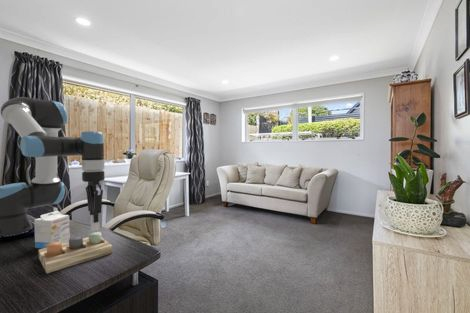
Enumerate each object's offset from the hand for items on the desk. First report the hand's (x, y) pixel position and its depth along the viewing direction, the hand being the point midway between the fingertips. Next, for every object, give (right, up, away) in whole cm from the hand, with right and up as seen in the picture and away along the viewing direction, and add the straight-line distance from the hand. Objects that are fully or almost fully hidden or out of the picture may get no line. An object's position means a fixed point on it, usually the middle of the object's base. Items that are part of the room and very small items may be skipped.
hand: (95, 229), depth 92 cm
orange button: (-9, -5, -9) cm, 14 cm away
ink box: (-21, -8, +6) cm, 23 cm away
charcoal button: (-5, -5, -4) cm, 8 cm away
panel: (-5, -8, -4) cm, 10 cm away
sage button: (0, -5, 0) cm, 5 cm away
